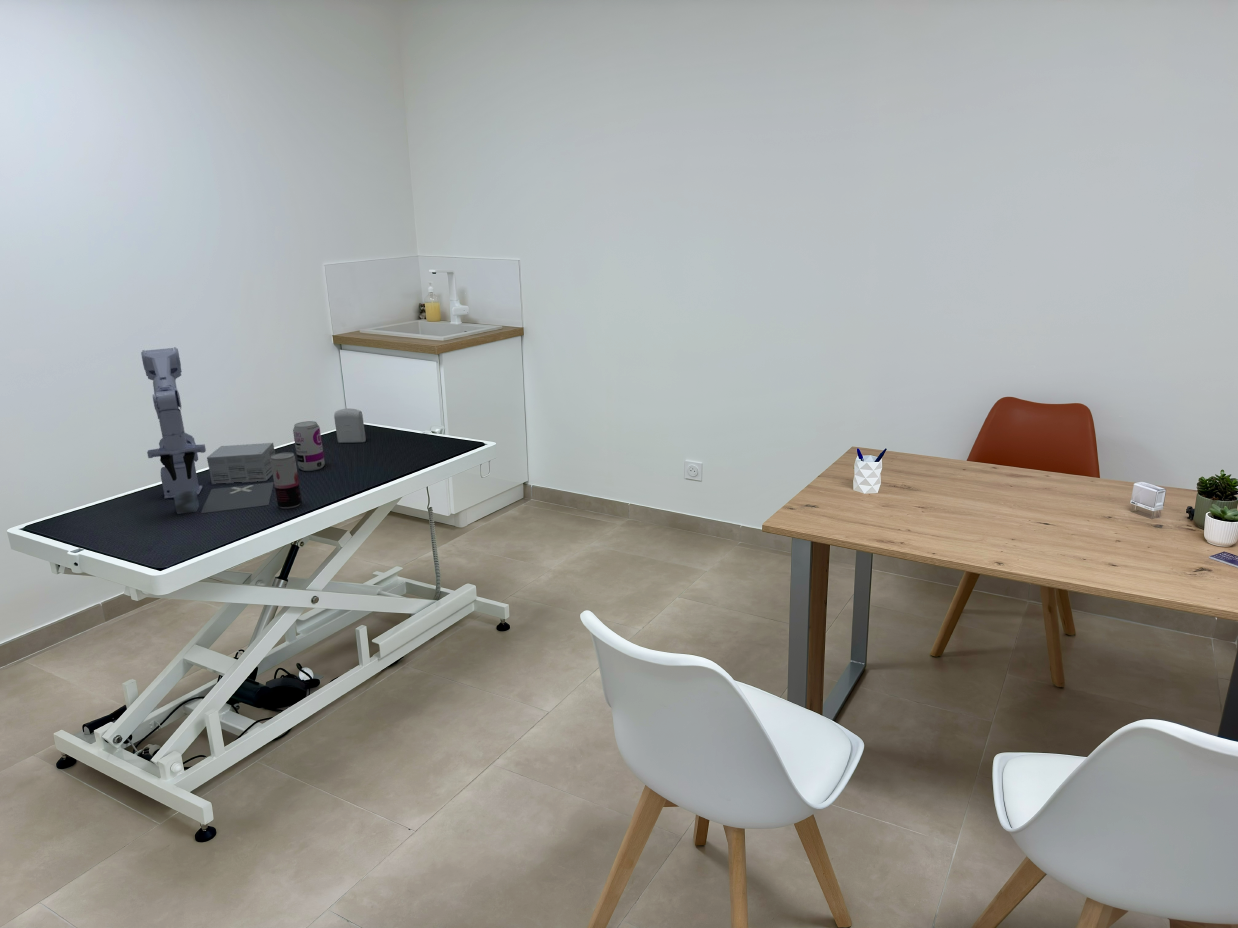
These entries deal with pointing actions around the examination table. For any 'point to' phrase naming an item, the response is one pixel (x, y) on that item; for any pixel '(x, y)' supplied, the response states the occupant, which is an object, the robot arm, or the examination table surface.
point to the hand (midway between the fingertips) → (182, 478)
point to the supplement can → (308, 446)
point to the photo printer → (349, 426)
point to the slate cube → (186, 502)
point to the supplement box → (241, 463)
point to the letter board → (238, 497)
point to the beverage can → (286, 480)
